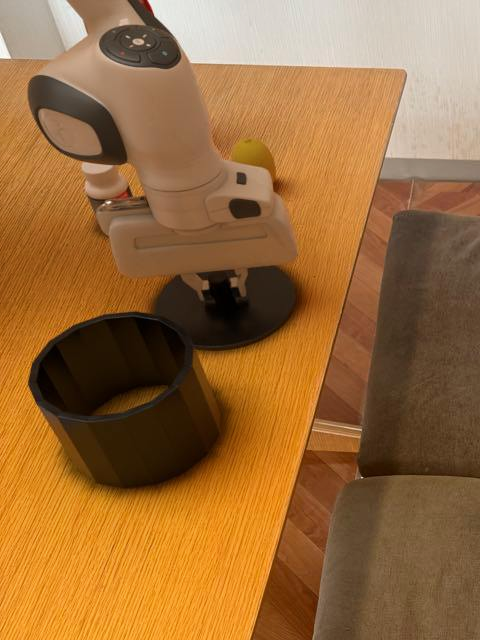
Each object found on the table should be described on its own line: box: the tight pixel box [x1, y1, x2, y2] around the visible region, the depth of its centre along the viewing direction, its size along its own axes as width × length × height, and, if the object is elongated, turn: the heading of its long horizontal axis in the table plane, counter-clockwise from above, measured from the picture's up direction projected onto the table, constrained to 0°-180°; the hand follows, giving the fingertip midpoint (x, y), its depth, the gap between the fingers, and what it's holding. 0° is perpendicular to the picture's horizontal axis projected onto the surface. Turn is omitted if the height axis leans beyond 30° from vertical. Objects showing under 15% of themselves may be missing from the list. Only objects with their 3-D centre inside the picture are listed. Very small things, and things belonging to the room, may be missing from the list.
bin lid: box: [154, 265, 297, 352], centre depth 108 cm, size 17×17×5 cm
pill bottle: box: [80, 162, 134, 217], centre depth 115 cm, size 5×5×9 cm
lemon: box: [231, 136, 277, 184], centre depth 120 cm, size 6×6×8 cm
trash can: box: [27, 310, 221, 489], centre depth 93 cm, size 16×16×10 cm
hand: (223, 295), depth 108 cm, fingers closed
